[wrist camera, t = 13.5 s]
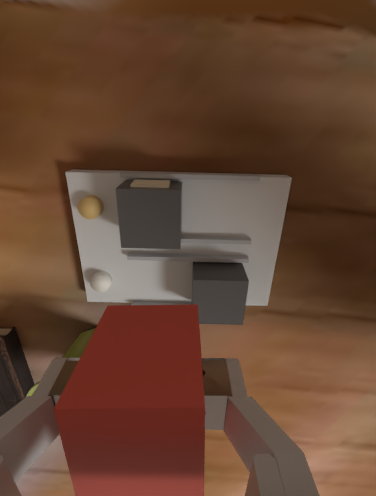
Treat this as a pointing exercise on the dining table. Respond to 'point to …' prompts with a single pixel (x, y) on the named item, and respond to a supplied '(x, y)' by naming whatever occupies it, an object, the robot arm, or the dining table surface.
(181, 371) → the red block
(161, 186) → the block
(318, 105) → the dining table surface
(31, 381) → the hardcover book
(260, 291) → the breaker panel
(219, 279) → the block
